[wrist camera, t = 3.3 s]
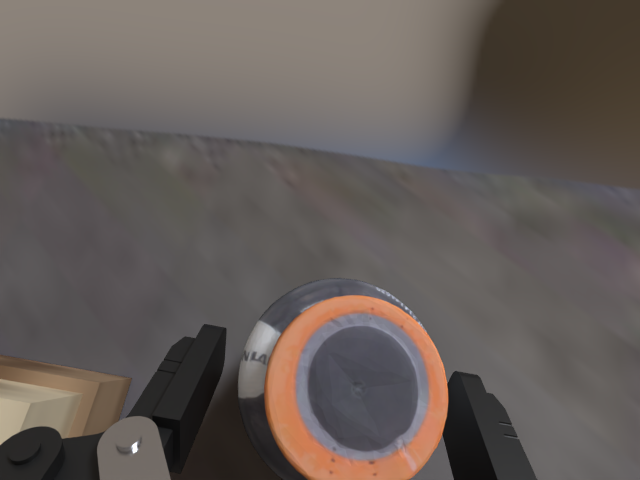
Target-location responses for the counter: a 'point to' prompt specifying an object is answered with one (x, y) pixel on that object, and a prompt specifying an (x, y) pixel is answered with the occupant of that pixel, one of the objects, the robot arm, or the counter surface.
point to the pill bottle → (342, 385)
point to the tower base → (90, 380)
